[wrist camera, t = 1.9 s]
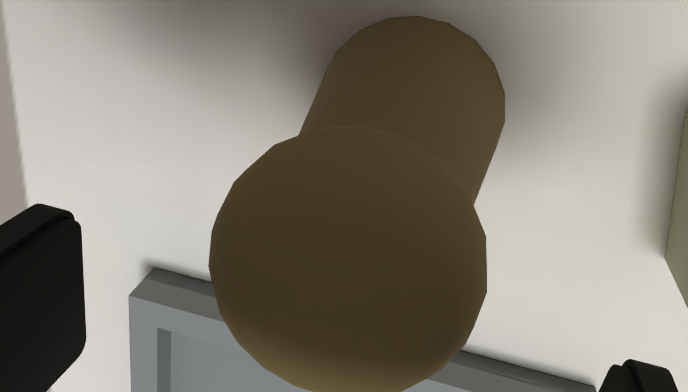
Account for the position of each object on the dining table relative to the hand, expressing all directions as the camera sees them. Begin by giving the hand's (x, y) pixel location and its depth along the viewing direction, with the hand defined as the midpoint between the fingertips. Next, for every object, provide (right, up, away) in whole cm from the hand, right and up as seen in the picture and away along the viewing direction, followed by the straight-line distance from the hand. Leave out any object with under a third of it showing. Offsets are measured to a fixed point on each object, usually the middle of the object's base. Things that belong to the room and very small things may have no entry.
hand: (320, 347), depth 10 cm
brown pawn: (+3, +6, +9) cm, 11 cm away
